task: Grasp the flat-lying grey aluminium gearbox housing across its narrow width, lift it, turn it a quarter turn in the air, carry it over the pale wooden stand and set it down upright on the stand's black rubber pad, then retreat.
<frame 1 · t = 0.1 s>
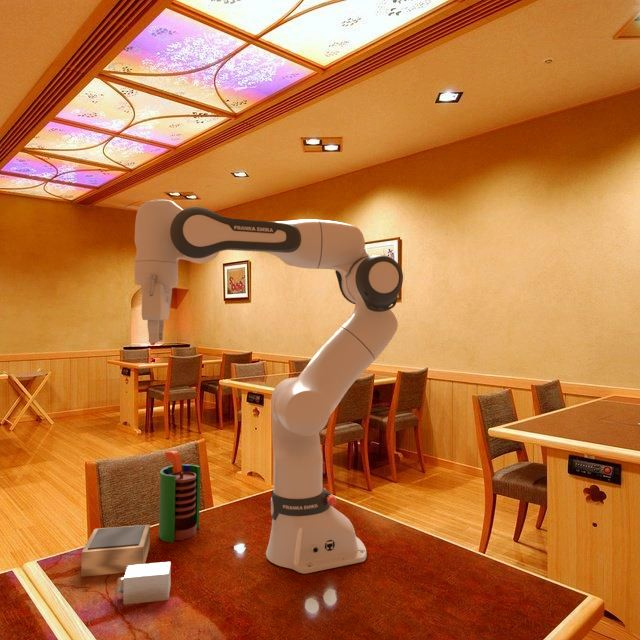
hand: (156, 342, 108), 48 cm above the table, fingers open, 8 cm apart
housing: (147, 595, 97), on the table
motor: (178, 534, 125), on the table
stand: (117, 560, 111), on the table
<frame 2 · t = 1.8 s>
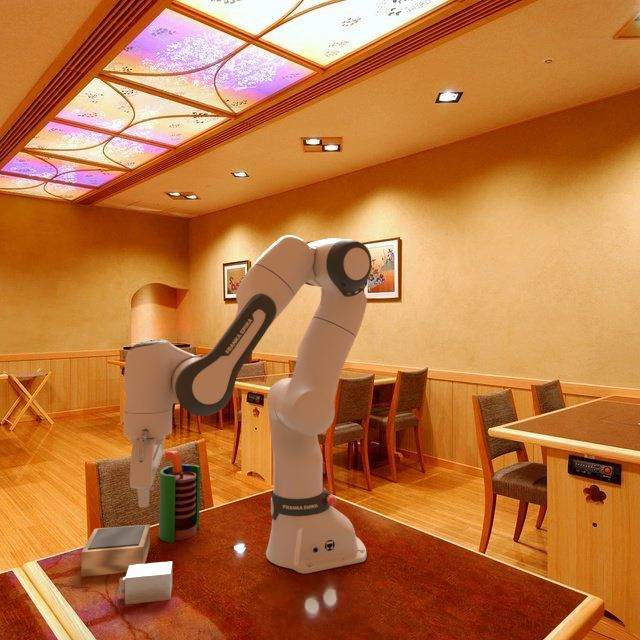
hand: (147, 497, 97), 19 cm above the table, fingers open, 8 cm apart
nothing on the table moved.
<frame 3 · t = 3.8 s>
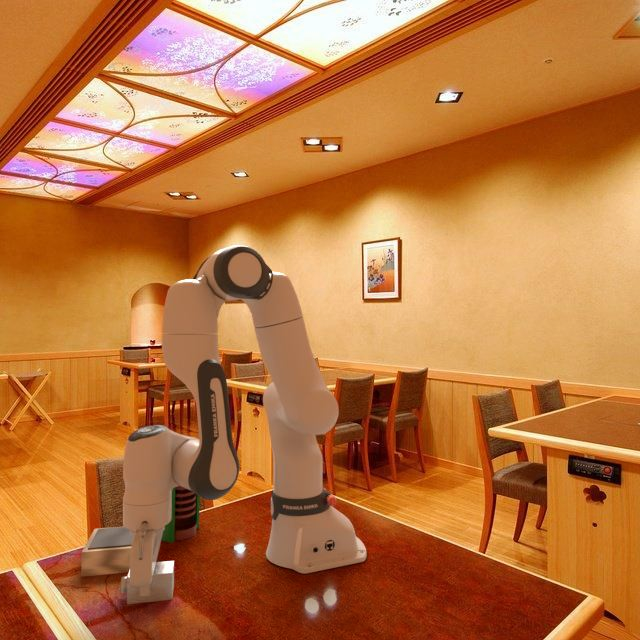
hand: (147, 585, 97), 2 cm above the table, fingers closed on housing, 5 cm apart
housing: (151, 594, 97), on the table, touching gripper
everything else where it was.
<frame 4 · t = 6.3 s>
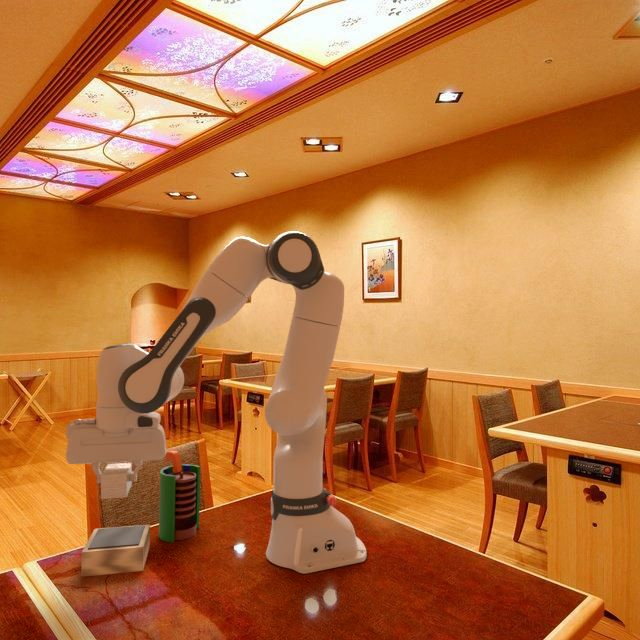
hand: (117, 481, 110), 17 cm above the table, fingers closed on housing, 5 cm apart
housing: (116, 491, 110), point 15 cm above the table, touching gripper
everything else where it was.
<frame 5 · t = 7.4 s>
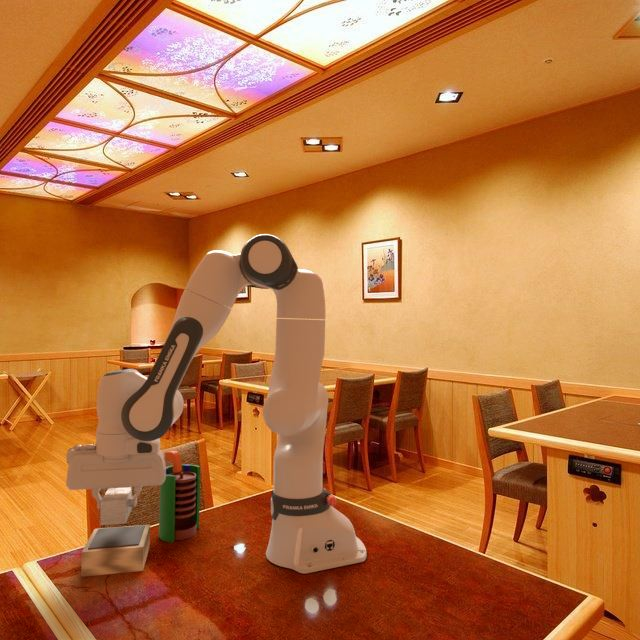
hand: (117, 506, 111), 12 cm above the table, fingers closed on housing, 5 cm apart
housing: (116, 516, 110), point 10 cm above the table, touching gripper
everything else where it was.
when the fingers open (8 cm above the table, at t = 8.4 s): housing drops 1 cm, resting on stand.
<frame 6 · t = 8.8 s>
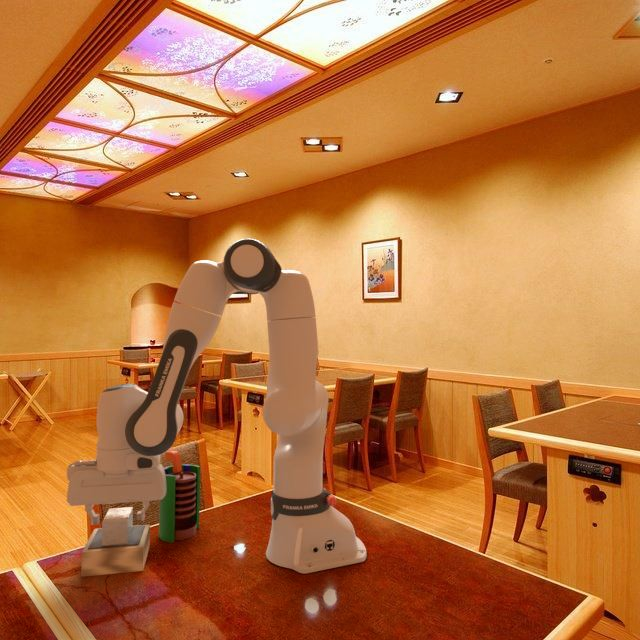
hand: (118, 521, 111), 8 cm above the table, fingers open, 8 cm apart
housing: (117, 537, 110), point 5 cm above the table, touching stand
everything else where it was.
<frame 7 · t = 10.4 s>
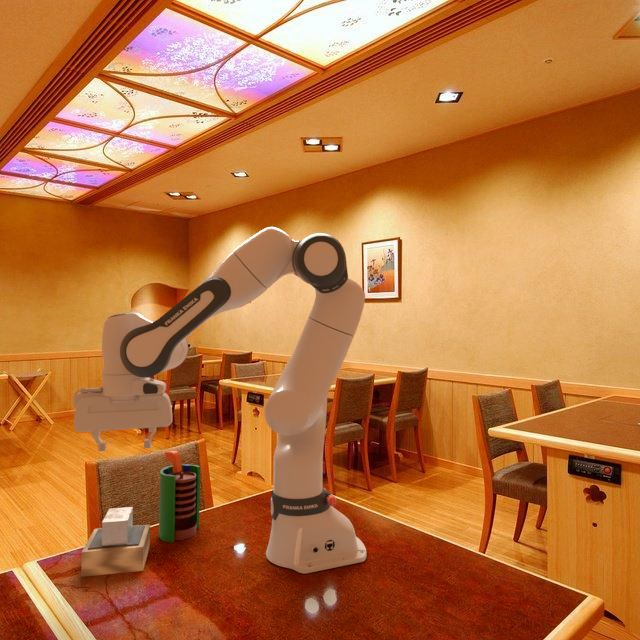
hand: (125, 449, 112), 24 cm above the table, fingers open, 8 cm apart
nothing on the table moved.
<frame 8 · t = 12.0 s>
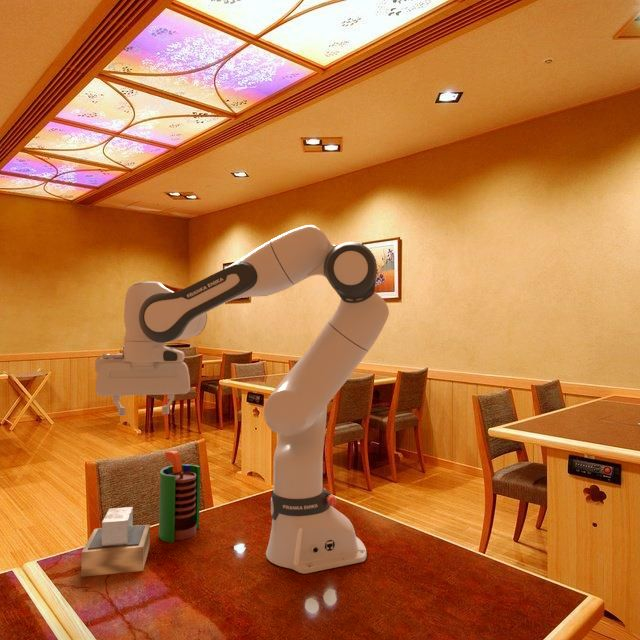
hand: (144, 414, 115), 31 cm above the table, fingers open, 8 cm apart
nothing on the table moved.
at the end: housing inside the target area on the stand (0.7 cm from its centre), point 5.3 cm above the stand's base; housing tilted 0°; the gripper is holding nothing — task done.
